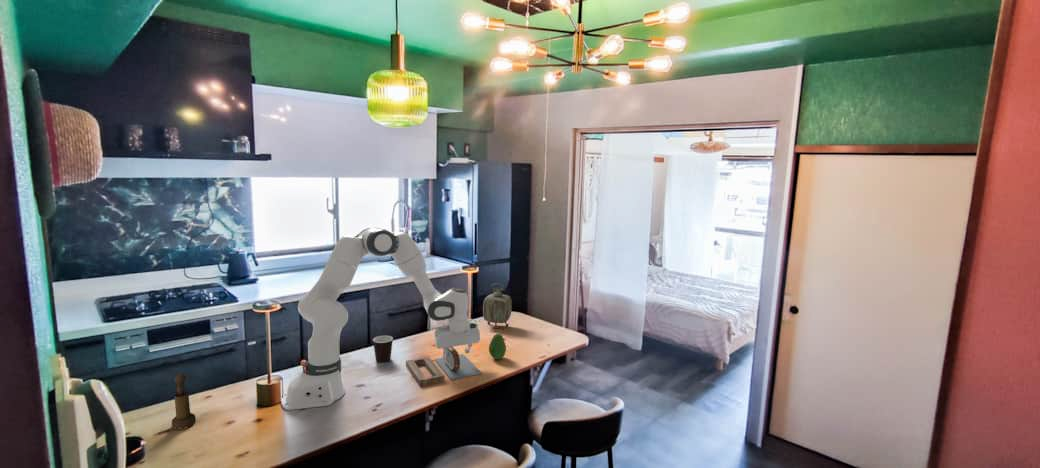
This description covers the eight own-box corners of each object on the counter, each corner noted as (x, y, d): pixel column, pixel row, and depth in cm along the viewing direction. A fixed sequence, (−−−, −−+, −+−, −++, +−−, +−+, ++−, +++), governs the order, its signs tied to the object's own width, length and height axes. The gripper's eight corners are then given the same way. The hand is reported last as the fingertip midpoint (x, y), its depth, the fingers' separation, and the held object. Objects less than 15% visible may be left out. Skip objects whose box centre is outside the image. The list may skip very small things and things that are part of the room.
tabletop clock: (511, 326, 267) (512, 282, 263) (507, 331, 258) (508, 286, 254) (486, 323, 270) (487, 280, 266) (481, 328, 262) (482, 284, 258)
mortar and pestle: (169, 431, 158) (165, 380, 156) (174, 421, 164) (170, 372, 161) (193, 427, 161) (189, 377, 158) (197, 417, 167) (193, 369, 164)
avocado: (503, 354, 228) (503, 330, 226) (507, 361, 221) (508, 336, 219) (486, 356, 226) (487, 331, 224) (491, 363, 218) (491, 338, 216)
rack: (419, 386, 194) (419, 380, 194) (406, 365, 213) (406, 360, 212) (444, 381, 199) (444, 375, 199) (429, 361, 218) (429, 356, 217)
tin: (459, 373, 205) (461, 354, 205) (452, 374, 204) (454, 355, 203) (447, 360, 219) (449, 342, 218) (441, 360, 217) (443, 342, 216)
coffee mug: (387, 365, 213) (387, 343, 211) (369, 362, 215) (369, 341, 213) (399, 354, 224) (399, 334, 223) (382, 352, 226) (381, 332, 224)
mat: (451, 380, 200) (451, 379, 200) (434, 360, 219) (434, 359, 219) (481, 374, 207) (481, 373, 207) (463, 355, 226) (463, 354, 226)
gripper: (437, 330, 202) (436, 361, 204) (481, 323, 212) (481, 353, 214) (432, 325, 208) (432, 355, 210) (476, 319, 217) (475, 348, 219)
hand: (457, 354), depth 212 cm, fingers open, 8 cm apart
